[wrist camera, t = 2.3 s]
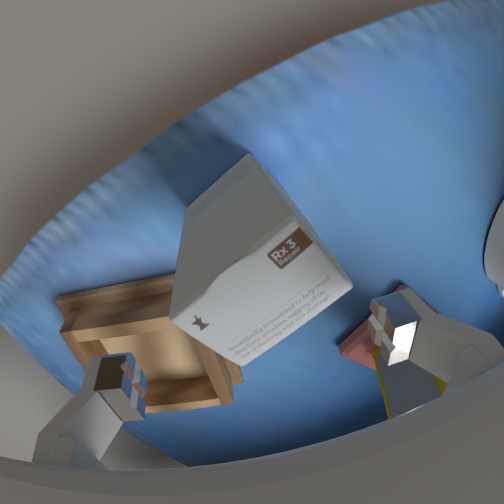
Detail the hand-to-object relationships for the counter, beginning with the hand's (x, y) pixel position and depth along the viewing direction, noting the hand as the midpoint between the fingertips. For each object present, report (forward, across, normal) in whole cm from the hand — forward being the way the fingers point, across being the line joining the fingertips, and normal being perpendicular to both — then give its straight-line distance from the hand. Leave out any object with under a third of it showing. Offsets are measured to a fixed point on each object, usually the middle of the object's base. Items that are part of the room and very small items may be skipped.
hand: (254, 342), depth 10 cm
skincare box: (+14, -1, 0) cm, 14 cm away
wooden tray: (+14, +9, +12) cm, 21 cm away
